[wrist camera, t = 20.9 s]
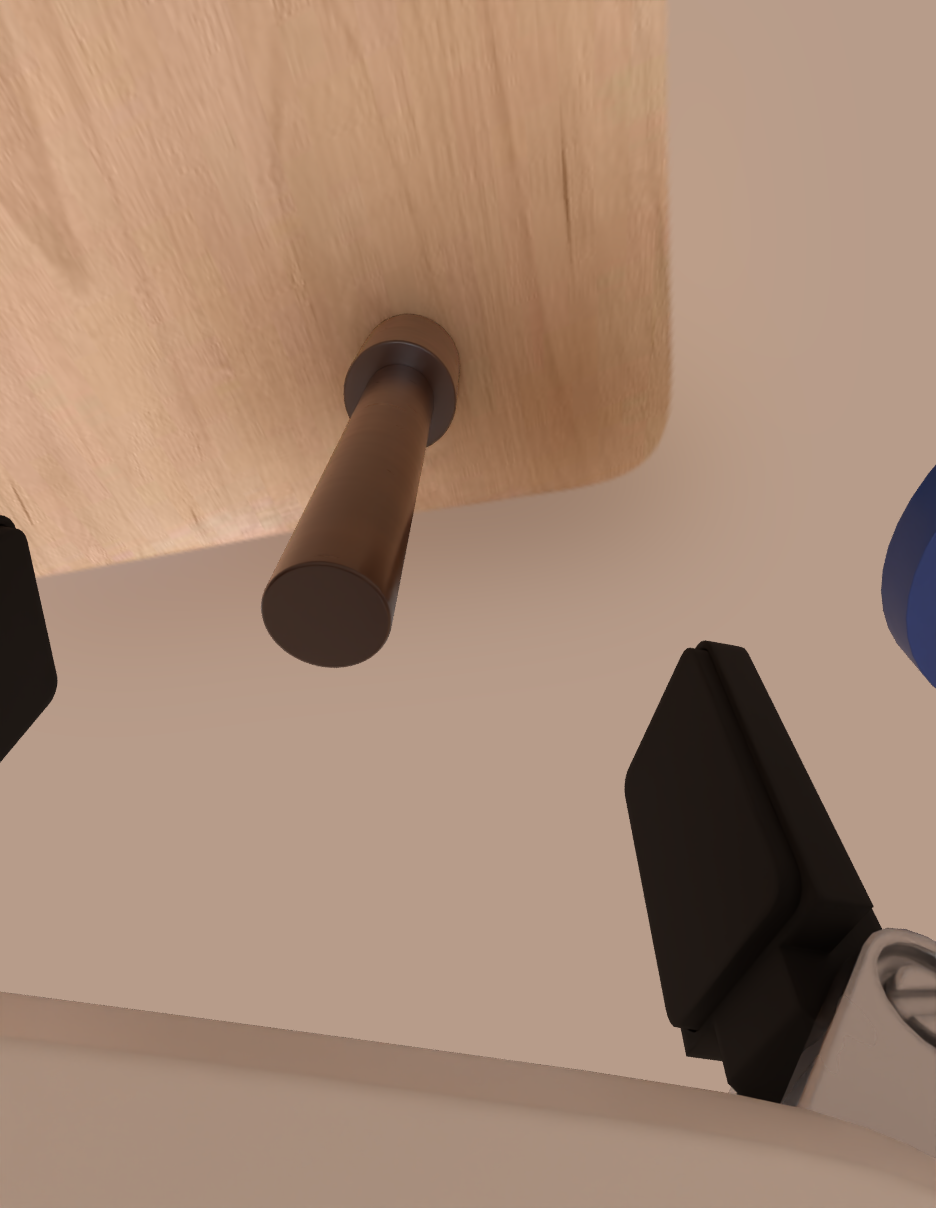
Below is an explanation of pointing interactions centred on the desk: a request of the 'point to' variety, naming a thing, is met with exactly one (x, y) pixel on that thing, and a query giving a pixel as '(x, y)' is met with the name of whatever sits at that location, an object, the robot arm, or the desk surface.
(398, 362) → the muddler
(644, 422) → the desk surface
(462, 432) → the desk surface
